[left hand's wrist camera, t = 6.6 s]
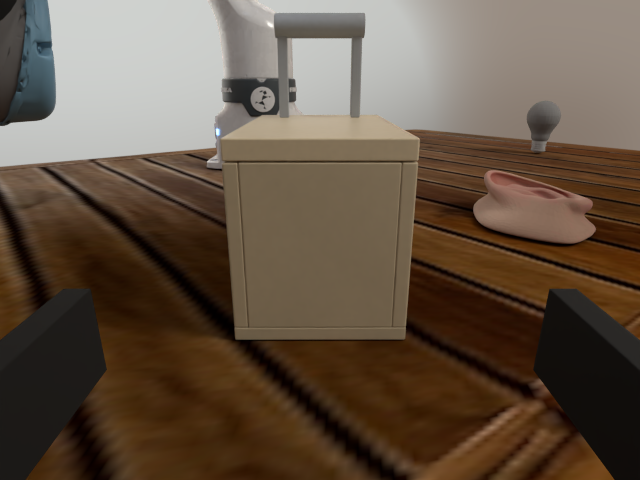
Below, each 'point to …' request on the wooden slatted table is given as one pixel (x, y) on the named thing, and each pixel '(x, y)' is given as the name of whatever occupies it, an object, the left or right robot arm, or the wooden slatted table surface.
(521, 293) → the wooden slatted table surface
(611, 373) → the left robot arm
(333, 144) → the lid
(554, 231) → the anatomical model
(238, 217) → the chest
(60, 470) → the wooden slatted table surface
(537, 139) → the light bulb
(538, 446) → the wooden slatted table surface
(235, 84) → the right robot arm
